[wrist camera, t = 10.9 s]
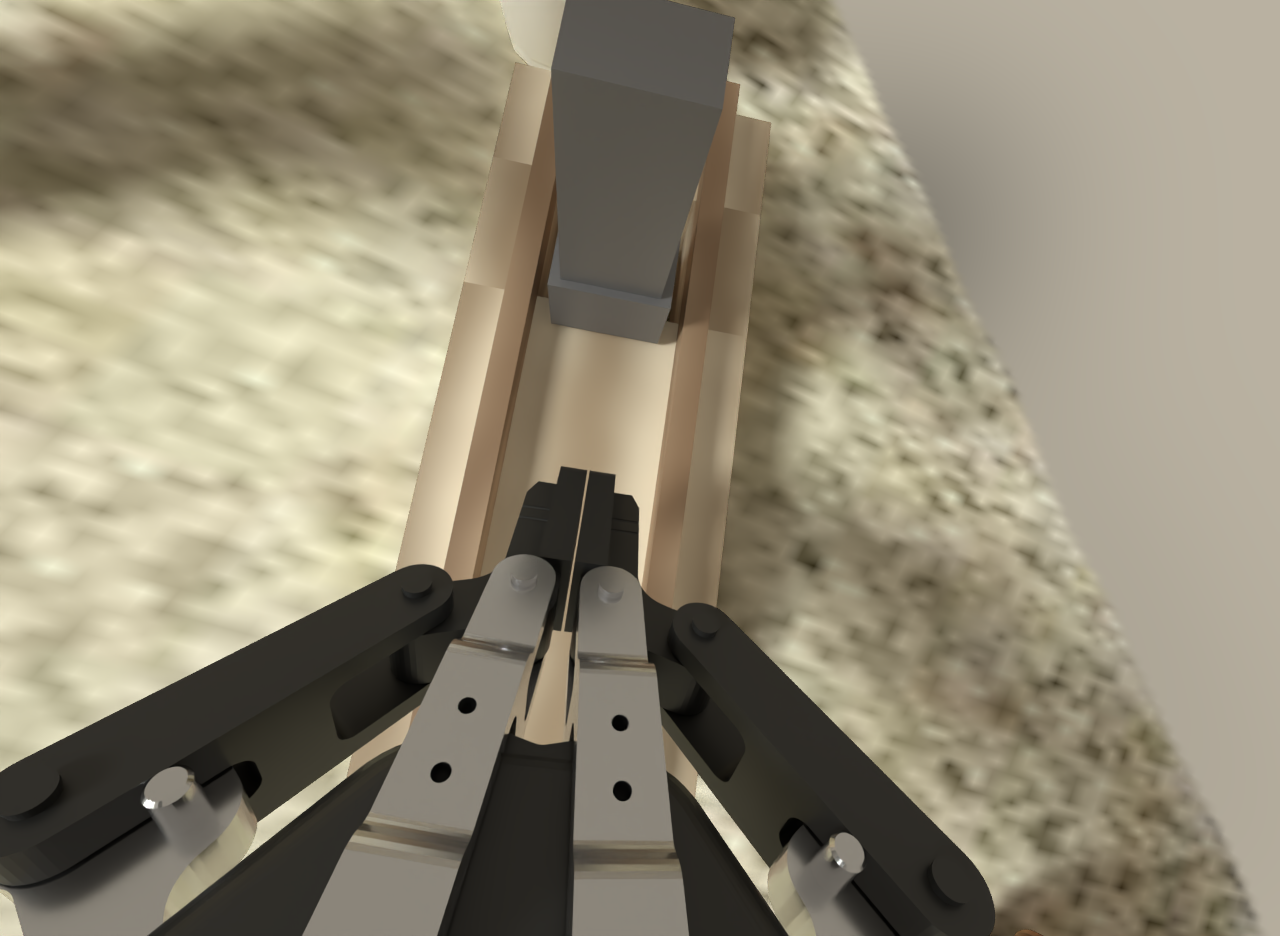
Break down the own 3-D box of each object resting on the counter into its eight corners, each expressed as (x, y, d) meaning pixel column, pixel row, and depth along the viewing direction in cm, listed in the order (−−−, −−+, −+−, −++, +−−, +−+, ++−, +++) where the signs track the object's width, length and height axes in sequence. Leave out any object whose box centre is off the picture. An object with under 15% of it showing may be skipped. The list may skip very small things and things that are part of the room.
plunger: (551, 323, 21) (528, 75, 11) (563, 257, 22) (554, -40, 11) (657, 343, 22) (739, 125, 11) (667, 278, 22) (754, 11, 12)
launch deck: (385, 749, 22) (322, 810, 16) (523, 133, 28) (511, 28, 22) (671, 782, 23) (701, 848, 17) (744, 183, 29) (783, 94, 23)
